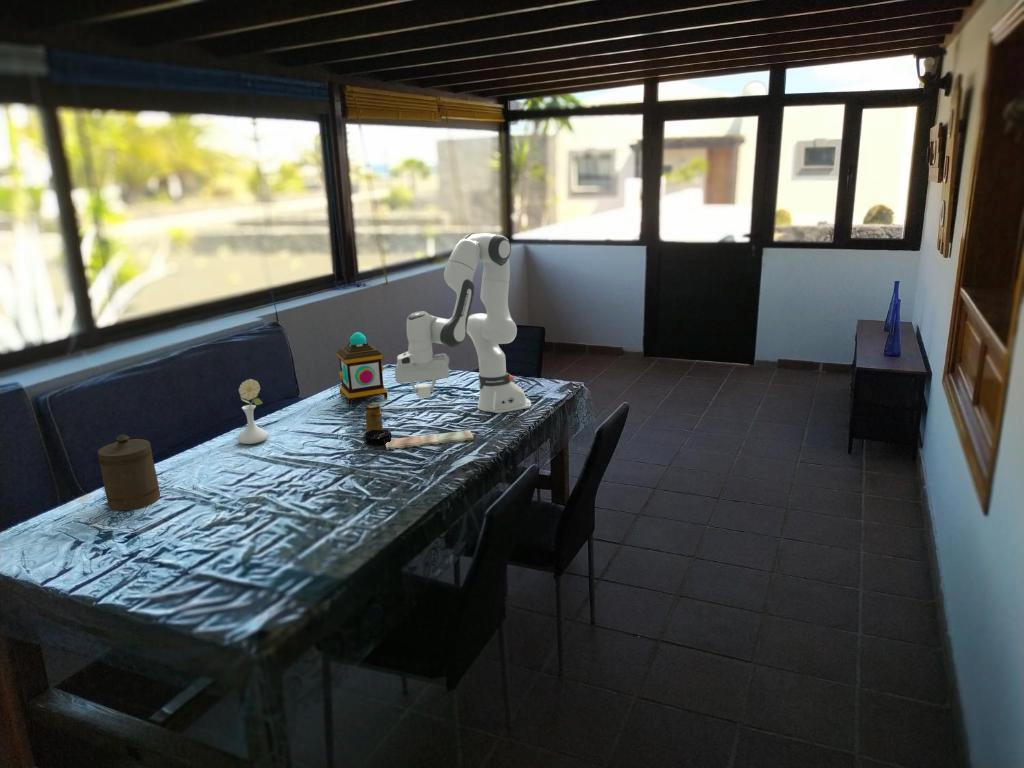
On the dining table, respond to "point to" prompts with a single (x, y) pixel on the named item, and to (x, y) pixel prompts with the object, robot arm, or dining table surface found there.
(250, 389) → the flower in vase
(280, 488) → the dining table surface
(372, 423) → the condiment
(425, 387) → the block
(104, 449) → the wooden container
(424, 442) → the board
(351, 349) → the decorative lantern
